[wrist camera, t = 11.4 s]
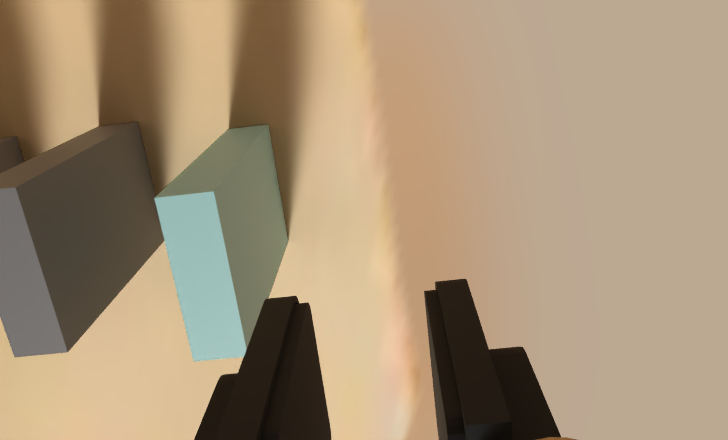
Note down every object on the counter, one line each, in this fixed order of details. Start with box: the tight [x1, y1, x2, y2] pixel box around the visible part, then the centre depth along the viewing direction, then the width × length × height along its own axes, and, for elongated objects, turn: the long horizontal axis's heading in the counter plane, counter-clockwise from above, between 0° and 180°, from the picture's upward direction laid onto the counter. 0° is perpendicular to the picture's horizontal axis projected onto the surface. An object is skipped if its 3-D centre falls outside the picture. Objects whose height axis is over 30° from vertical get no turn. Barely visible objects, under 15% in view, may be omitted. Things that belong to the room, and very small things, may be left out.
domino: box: [0, 122, 164, 357], centre depth 22 cm, size 5×2×9 cm, turn 7°
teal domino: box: [154, 124, 288, 361], centre depth 22 cm, size 5×2×9 cm, turn 7°
